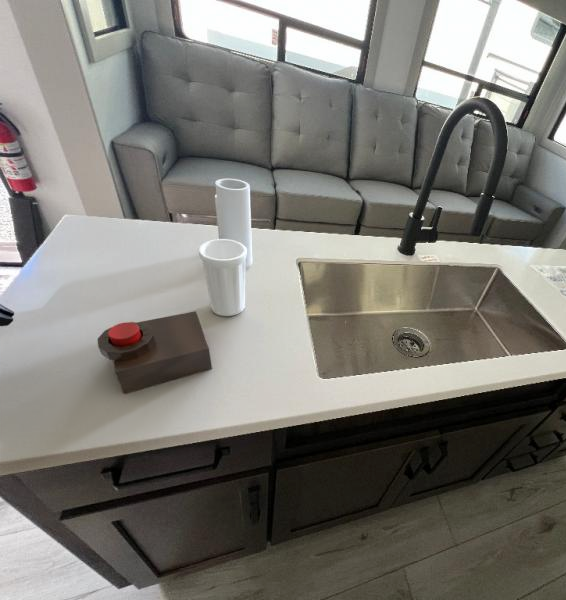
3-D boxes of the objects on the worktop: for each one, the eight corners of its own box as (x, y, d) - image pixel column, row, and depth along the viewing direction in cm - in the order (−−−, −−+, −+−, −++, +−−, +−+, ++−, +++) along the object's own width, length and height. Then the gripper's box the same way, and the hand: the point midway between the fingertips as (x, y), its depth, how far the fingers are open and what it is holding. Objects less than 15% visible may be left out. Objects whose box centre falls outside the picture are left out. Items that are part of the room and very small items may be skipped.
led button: (112, 349, 48) (108, 341, 47) (110, 333, 50) (107, 325, 49) (142, 343, 50) (140, 334, 49) (139, 328, 52) (137, 319, 51)
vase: (253, 268, 82) (251, 191, 70) (221, 269, 79) (212, 188, 67) (250, 245, 89) (247, 172, 78) (220, 245, 86) (212, 169, 75)
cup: (210, 295, 71) (202, 236, 63) (251, 296, 74) (248, 240, 65) (203, 320, 65) (193, 259, 57) (247, 320, 68) (244, 262, 59)
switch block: (113, 397, 49) (99, 366, 45) (109, 351, 55) (96, 320, 51) (212, 368, 57) (207, 340, 53) (199, 331, 63) (194, 303, 59)
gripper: (-231, 240, 22) (57, 321, 35) (-134, 149, 33) (60, 237, 46) (-350, 353, 22) (-18, 393, 35) (-215, 226, 33) (2, 292, 46)
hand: (11, 319), depth 40 cm, fingers closed
